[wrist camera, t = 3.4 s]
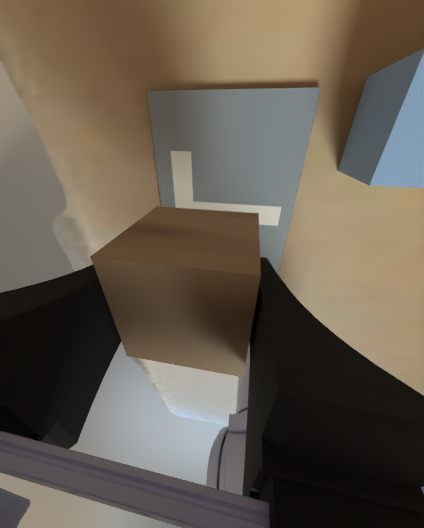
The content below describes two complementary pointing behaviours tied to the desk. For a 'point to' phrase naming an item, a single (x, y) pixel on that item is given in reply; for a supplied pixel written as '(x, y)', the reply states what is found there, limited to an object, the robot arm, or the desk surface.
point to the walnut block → (184, 286)
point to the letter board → (234, 153)
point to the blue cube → (389, 127)
